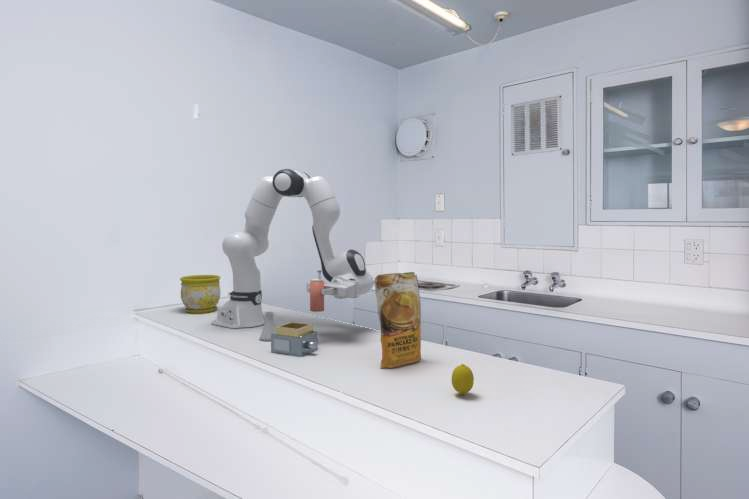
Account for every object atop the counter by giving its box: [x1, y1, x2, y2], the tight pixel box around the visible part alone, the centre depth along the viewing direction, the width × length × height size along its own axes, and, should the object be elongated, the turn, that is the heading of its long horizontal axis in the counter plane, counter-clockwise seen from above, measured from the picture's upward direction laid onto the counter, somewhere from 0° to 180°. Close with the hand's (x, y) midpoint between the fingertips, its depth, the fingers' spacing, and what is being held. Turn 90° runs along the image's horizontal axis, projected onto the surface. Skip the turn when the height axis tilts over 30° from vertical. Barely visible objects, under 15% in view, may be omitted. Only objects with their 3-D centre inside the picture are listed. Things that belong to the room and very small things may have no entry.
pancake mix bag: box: [374, 271, 422, 369], centre depth 145 cm, size 7×19×28 cm, turn 127°
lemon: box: [451, 363, 475, 396], centre depth 119 cm, size 6×6×8 cm
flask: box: [258, 311, 276, 342], centre depth 173 cm, size 7×7×10 cm
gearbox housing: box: [270, 321, 319, 357], centre depth 158 cm, size 15×10×8 cm
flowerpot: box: [179, 274, 221, 315], centre depth 224 cm, size 18×18×16 cm
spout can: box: [309, 269, 325, 313], centre depth 168 cm, size 5×5×14 cm
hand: (315, 291), depth 167 cm, fingers closed on spout can, 5 cm apart
